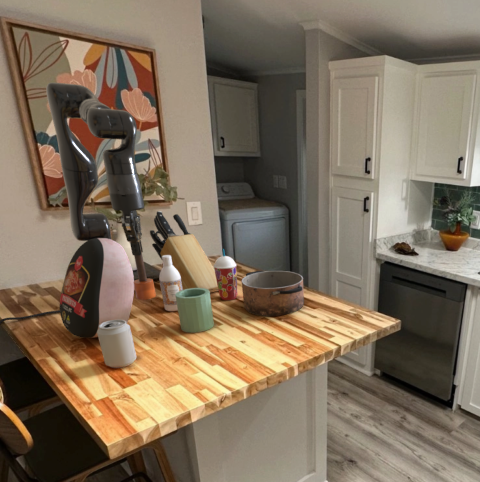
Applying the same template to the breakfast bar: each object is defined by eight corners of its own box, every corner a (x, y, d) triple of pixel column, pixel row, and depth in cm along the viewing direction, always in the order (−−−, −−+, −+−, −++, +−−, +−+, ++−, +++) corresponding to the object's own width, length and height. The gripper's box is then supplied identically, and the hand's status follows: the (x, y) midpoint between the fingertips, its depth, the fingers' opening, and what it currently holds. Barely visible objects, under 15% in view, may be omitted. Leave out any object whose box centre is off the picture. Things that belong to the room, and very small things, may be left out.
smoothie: (244, 296, 166) (239, 248, 159) (230, 302, 159) (224, 252, 152) (227, 293, 169) (221, 245, 161) (213, 299, 161) (206, 250, 154)
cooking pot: (228, 301, 160) (225, 275, 156) (278, 289, 175) (276, 265, 171) (270, 324, 141) (267, 295, 137) (321, 309, 156) (320, 282, 152)
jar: (180, 334, 131) (174, 299, 127) (182, 322, 140) (176, 289, 136) (214, 330, 135) (209, 296, 131) (213, 319, 144) (209, 286, 139)
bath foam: (166, 313, 147) (156, 259, 140) (163, 306, 153) (154, 254, 145) (187, 309, 151) (178, 257, 143) (184, 303, 156) (175, 252, 149)
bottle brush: (135, 300, 118) (122, 238, 111) (137, 294, 122) (125, 235, 116) (155, 298, 120) (143, 238, 113) (156, 293, 124) (145, 234, 117)
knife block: (180, 275, 189) (169, 207, 178) (225, 291, 170) (216, 217, 159) (155, 280, 181) (142, 209, 169) (200, 298, 162) (188, 220, 150)
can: (114, 356, 117) (105, 317, 112) (142, 356, 117) (134, 317, 113) (99, 369, 110) (89, 329, 105) (129, 369, 110) (119, 328, 106)
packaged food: (55, 333, 129) (28, 239, 118) (122, 315, 144) (103, 230, 133) (86, 353, 118) (59, 251, 107) (154, 331, 133) (137, 240, 122)
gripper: (114, 188, 114) (126, 249, 121) (103, 194, 103) (118, 261, 109) (144, 188, 117) (155, 247, 123) (137, 194, 105) (150, 259, 112)
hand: (137, 253), depth 116 cm, fingers closed on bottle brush
